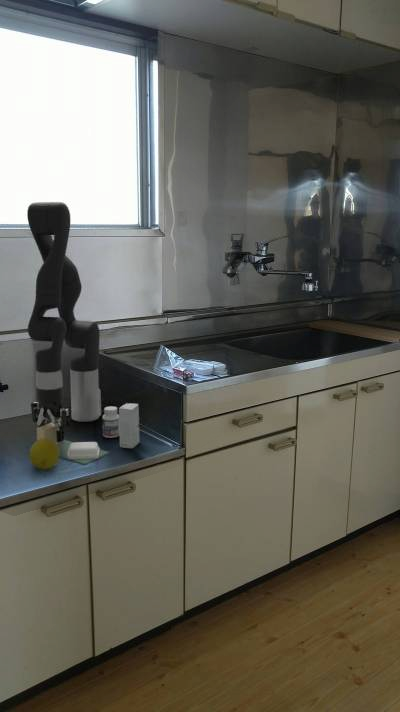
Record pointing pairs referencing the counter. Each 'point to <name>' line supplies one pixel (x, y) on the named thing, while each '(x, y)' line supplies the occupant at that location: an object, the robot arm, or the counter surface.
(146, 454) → the counter surface
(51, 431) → the pale green tray
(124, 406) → the skincare box
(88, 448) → the soap
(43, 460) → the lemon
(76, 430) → the counter surface
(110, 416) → the pill bottle
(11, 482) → the counter surface
